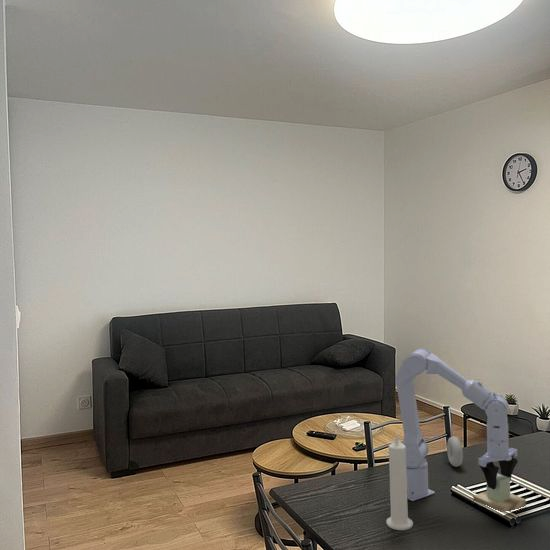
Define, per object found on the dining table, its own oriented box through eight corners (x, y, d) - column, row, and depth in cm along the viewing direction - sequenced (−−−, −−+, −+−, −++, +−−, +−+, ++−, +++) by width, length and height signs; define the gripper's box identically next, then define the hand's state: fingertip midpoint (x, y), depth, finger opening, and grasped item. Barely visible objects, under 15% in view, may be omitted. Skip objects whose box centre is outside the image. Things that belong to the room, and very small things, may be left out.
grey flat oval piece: (464, 471, 190) (464, 441, 190) (454, 471, 191) (453, 442, 190) (455, 460, 200) (455, 432, 200) (446, 460, 201) (445, 432, 200)
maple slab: (502, 519, 158) (502, 508, 158) (473, 505, 167) (473, 495, 167) (525, 509, 163) (525, 499, 163) (496, 497, 172) (496, 487, 172)
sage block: (500, 502, 162) (499, 481, 161) (486, 496, 166) (486, 476, 165) (510, 498, 164) (509, 477, 164) (497, 492, 168) (496, 472, 168)
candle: (394, 515, 161) (391, 428, 160) (417, 522, 156) (414, 432, 155) (381, 525, 156) (378, 435, 154) (405, 533, 151) (402, 440, 150)
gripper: (492, 447, 157) (493, 496, 157) (526, 437, 164) (527, 483, 165) (471, 441, 163) (473, 487, 164) (505, 431, 170) (506, 475, 171)
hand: (498, 485), depth 165 cm, fingers open, 6 cm apart
